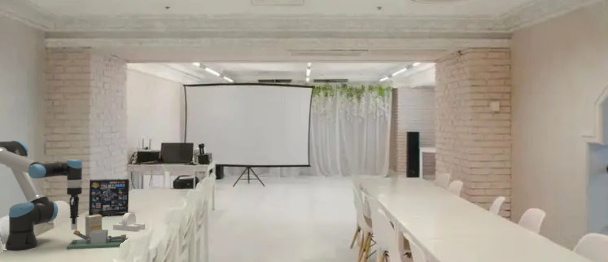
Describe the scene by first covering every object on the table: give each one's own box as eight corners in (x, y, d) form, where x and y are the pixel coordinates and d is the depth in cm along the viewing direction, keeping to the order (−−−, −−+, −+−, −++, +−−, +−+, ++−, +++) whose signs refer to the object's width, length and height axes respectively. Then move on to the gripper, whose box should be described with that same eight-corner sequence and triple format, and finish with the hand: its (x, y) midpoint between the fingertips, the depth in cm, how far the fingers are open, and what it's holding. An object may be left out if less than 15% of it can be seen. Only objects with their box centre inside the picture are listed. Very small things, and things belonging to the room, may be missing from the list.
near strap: (90, 240, 280) (92, 237, 280) (88, 242, 275) (90, 239, 275) (74, 232, 278) (76, 229, 278) (72, 234, 273) (74, 231, 273)
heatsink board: (66, 249, 267) (66, 235, 267) (73, 242, 283) (73, 229, 283) (125, 246, 274) (125, 233, 274) (128, 240, 290) (128, 227, 290)
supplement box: (98, 235, 300) (98, 214, 300) (102, 236, 297) (102, 215, 297) (84, 237, 294) (85, 215, 294) (88, 239, 291) (89, 216, 291)
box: (128, 213, 372) (128, 178, 372) (129, 215, 366) (129, 179, 366) (88, 216, 360) (88, 179, 360) (89, 218, 354) (89, 180, 354)
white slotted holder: (136, 232, 312) (136, 215, 312) (112, 230, 317) (112, 213, 317) (145, 229, 321) (145, 212, 321) (121, 227, 326) (122, 210, 326)
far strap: (106, 241, 277) (106, 238, 277) (108, 239, 282) (108, 236, 282) (125, 239, 279) (125, 236, 279) (126, 237, 284) (126, 234, 284)
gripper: (79, 188, 269) (79, 231, 270) (84, 185, 282) (83, 226, 282) (64, 188, 268) (64, 232, 268) (69, 185, 280) (69, 227, 281)
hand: (74, 229), depth 275 cm, fingers closed
